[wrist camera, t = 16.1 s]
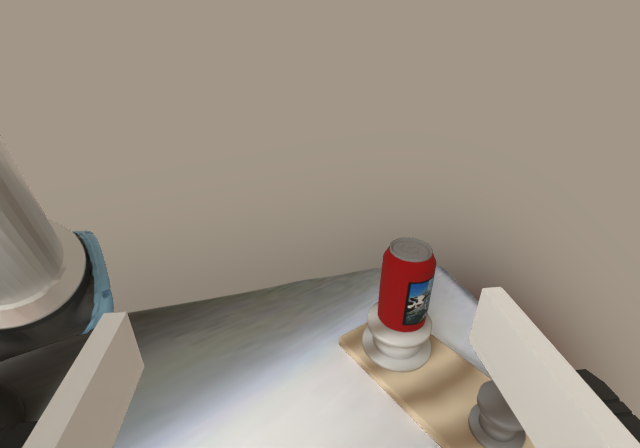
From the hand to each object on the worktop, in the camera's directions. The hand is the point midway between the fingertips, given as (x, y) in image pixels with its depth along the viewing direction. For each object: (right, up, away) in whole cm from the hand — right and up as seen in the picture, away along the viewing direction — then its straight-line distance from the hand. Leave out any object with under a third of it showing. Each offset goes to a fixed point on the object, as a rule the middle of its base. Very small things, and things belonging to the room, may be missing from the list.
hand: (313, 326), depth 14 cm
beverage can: (+12, -10, +38) cm, 41 cm away
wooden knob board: (+16, -19, +35) cm, 43 cm away
